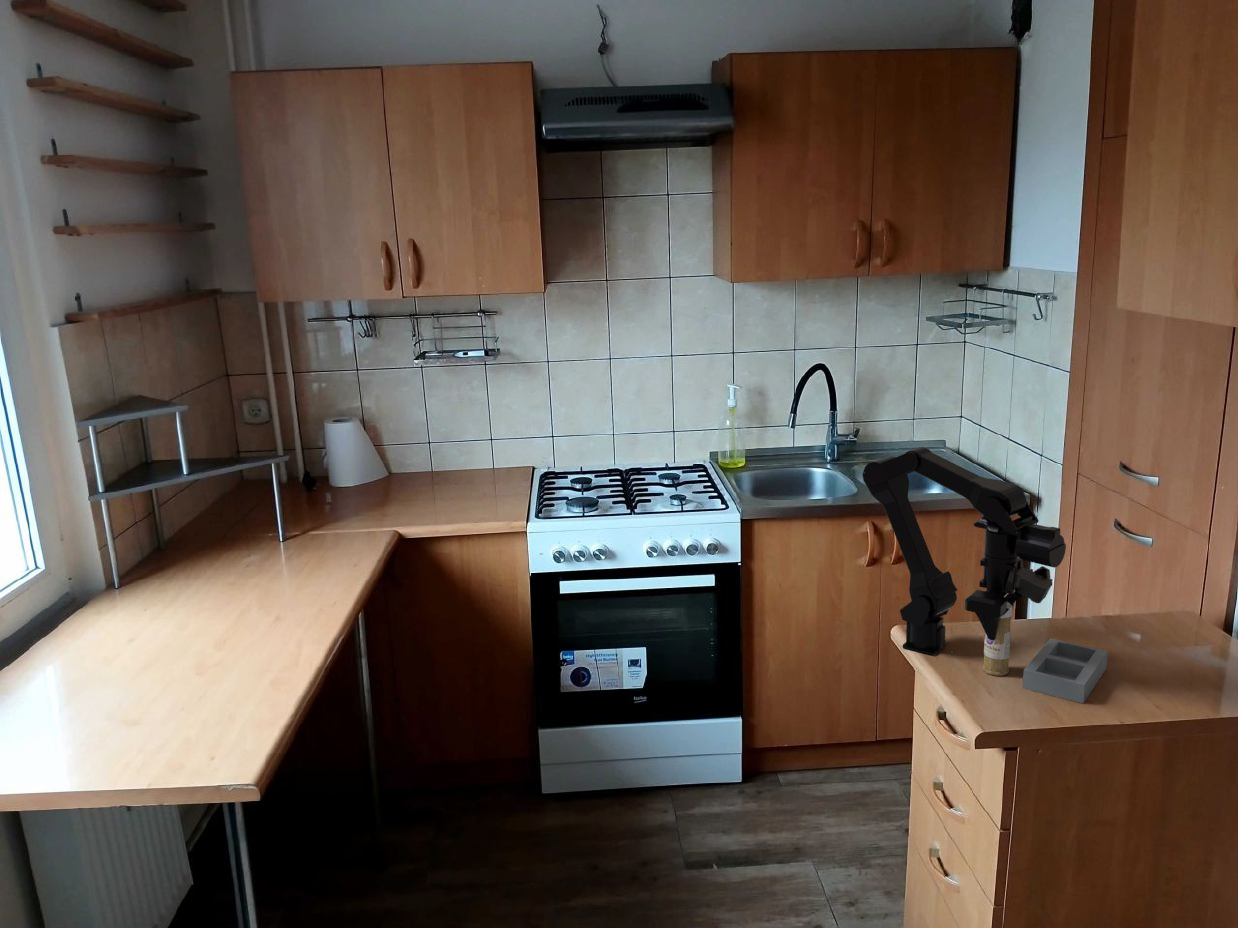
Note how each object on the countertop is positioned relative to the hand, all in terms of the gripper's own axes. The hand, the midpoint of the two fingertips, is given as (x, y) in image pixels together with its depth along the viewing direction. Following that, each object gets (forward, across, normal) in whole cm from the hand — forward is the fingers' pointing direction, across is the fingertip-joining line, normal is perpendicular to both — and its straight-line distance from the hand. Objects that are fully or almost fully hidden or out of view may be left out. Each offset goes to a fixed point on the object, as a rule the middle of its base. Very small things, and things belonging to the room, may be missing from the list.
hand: (997, 633), depth 170 cm
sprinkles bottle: (+8, 0, 0) cm, 8 cm away
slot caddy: (+8, +4, -11) cm, 14 cm away
